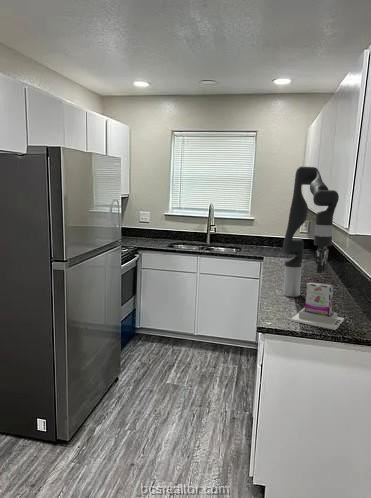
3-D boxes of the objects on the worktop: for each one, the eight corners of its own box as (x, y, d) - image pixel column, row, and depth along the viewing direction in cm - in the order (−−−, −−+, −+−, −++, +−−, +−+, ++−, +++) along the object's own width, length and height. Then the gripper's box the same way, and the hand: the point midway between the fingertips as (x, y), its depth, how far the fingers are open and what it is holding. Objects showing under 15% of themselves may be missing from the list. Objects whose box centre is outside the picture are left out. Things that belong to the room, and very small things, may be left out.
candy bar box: (331, 319, 173) (334, 284, 171) (328, 322, 169) (331, 287, 167) (307, 314, 180) (309, 281, 177) (304, 317, 176) (306, 283, 173)
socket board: (301, 312, 186) (302, 304, 186) (344, 320, 175) (344, 311, 175) (290, 320, 173) (291, 312, 173) (336, 330, 162) (336, 321, 162)
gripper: (319, 233, 176) (316, 268, 179) (310, 235, 165) (308, 273, 167) (335, 234, 172) (333, 270, 175) (327, 236, 160) (325, 275, 163)
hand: (320, 271), depth 171 cm, fingers open, 4 cm apart
